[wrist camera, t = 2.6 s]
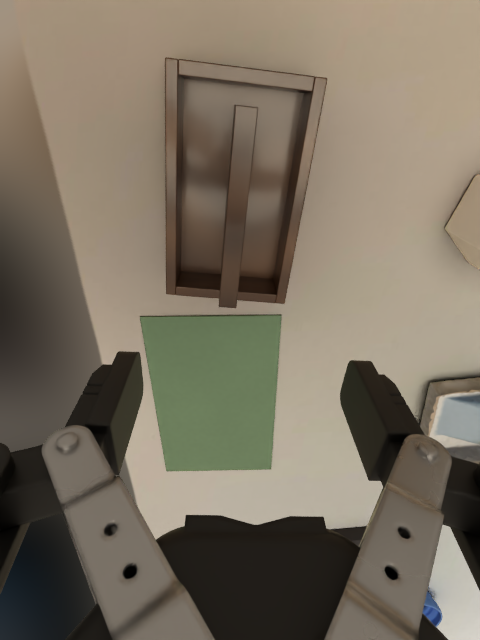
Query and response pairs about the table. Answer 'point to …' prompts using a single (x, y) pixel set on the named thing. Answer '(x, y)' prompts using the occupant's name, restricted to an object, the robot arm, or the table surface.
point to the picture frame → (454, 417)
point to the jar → (467, 224)
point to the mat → (214, 389)
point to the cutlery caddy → (236, 177)
